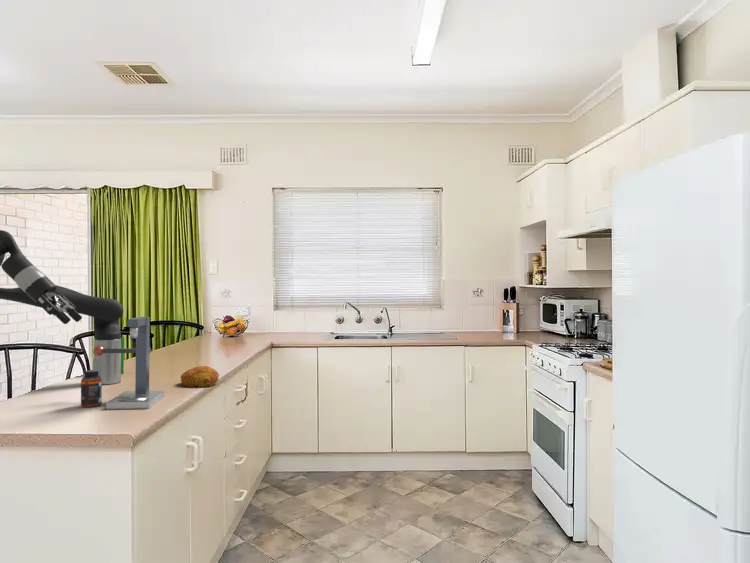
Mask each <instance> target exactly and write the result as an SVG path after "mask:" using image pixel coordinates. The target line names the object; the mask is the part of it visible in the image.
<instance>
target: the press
mask: <svg viewBox="0 0 750 563" xmlns="http://www.w3.org/2000/svg"><path fill="white" fill-rule="evenodd" d="M150 320H151V318H150V316H136V317H133V318H127V324H126V327H127V328H129V339H135V349H136V353H135V381H134V382H135V385H134V388H135V390H125V391H123V392H122V393H119V395H117V396H115V397H114V398H112V399H110V400H108V401H107V402H106V403H105V410H129V409H130V410H132V409H133V410H136V409H137V410H138V409H150V408H152V407H153V406H154V405H155V404H157V403H158V402H159V401H160V400H162V399H163V398H164V397H165V390H150V354H149V347H151V346H150V344H151V343H150V335H151V333H150V329H151V328H150V326H151V324H150Z"/></svg>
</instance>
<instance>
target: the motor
mask: <svg viewBox="0 0 750 563" xmlns="http://www.w3.org/2000/svg"><path fill="white" fill-rule="evenodd" d="M121 349H125V337H122V336H121ZM124 359H125V353H121V375H122V374H124V372H125V371H124V368H125V367H124V366H125V362H124V361H125V360H124Z"/></svg>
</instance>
